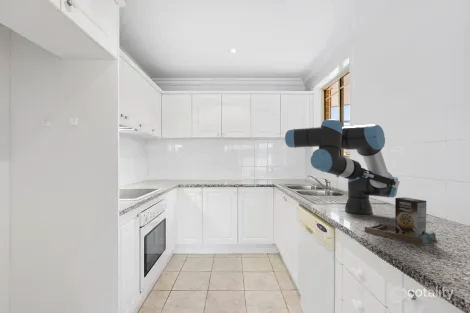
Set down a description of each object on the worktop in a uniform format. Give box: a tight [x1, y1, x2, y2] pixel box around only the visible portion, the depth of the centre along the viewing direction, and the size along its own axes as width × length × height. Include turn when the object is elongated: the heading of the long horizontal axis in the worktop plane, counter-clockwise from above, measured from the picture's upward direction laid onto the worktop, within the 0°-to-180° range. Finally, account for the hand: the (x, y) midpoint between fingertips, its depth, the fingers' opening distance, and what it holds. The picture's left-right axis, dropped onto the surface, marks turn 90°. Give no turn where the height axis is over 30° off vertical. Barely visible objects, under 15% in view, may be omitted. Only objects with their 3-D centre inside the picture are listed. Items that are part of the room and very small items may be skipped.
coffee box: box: [394, 196, 427, 239], centre depth 106 cm, size 9×6×16 cm
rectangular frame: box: [364, 222, 437, 246], centre depth 110 cm, size 13×22×3 cm, turn 34°
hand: (382, 179), depth 106 cm, fingers open, 13 cm apart
